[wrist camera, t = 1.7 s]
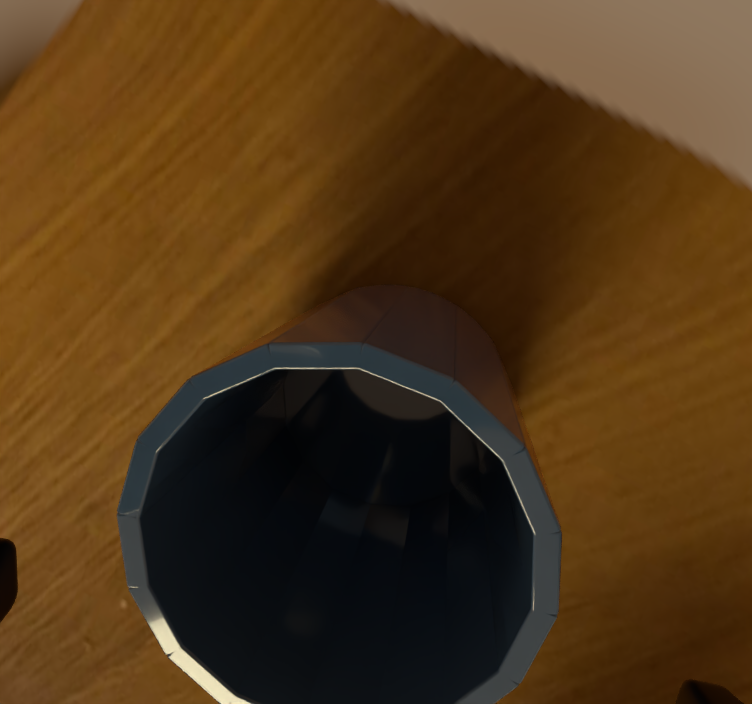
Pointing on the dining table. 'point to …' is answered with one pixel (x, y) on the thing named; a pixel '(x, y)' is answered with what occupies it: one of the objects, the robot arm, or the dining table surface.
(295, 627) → the cup
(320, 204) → the dining table surface
